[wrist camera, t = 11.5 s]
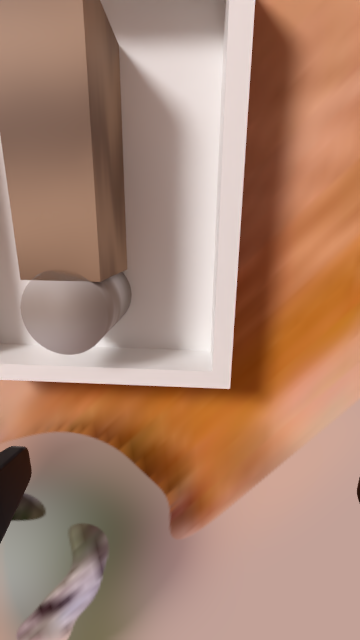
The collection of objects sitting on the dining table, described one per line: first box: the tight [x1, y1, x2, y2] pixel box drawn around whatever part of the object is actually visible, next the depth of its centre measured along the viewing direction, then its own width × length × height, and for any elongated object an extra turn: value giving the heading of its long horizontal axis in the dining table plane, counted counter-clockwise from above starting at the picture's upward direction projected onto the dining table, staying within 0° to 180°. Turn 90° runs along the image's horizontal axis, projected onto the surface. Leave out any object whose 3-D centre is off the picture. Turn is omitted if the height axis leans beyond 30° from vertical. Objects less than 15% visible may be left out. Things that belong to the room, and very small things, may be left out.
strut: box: [0, 0, 132, 355], centre depth 14 cm, size 14×4×5 cm, turn 179°
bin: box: [0, 0, 255, 389], centre depth 16 cm, size 16×20×4 cm
